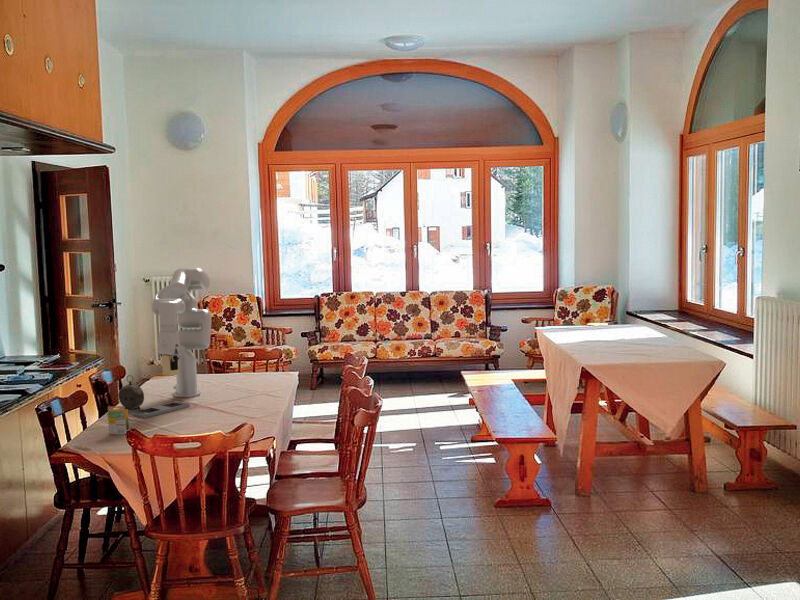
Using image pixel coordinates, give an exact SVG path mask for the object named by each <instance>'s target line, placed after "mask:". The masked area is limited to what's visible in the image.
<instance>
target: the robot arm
mask: <svg viewBox="0 0 800 600" xmlns="http://www.w3.org/2000/svg"><path fill="white" fill-rule="evenodd" d="M210 283H211V280H210V276H209V275H208V273H206V271H205V270H203V269H202V268H199V267H181V268H177V269H175V271H174V273H173V275H172V277H171V280H170V283H169V284H168V285H166V286H165V287H163V288H162V289H160V290H159V291H157V292H156V293H155V295H154V297H153V299H152V303H151V311H152V314H154V315H156V316H158V317H159V321H158V322H159V332H158V337H157V352H158V354H159V355H160V357H161V358H162V355H171V359H172V362H171V370H178V364H179V374H178V375H175V377H176V384H175V385H174V386H172V389H174V390H175V392H173V396H174V397H175V398H192V397H197V396H200V395H201V393H202V391H201V390H198V378H197V377H198V375H197V373H198V372H197V357H196V355H195V353H193V352H192V351H193V350H206V349H208V348H209V347H210V345H211V333H212V314H211V312H210V310H209V309H205V308H202V309H201V308H198V300H197V298H196V297H195V296H194V294H192V293H191V291H192V292H193V291H195V292H196V291H206V290H208V289H209V288H210V285H211V284H210ZM178 327H179V328H180V329H179V330H178ZM174 356H175V357H174Z"/></svg>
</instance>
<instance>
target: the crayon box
mask: <svg viewBox="0 0 800 600" xmlns="http://www.w3.org/2000/svg"><path fill="white" fill-rule="evenodd" d="M107 419H108V434H111V435H125V432H126V431H127V430H128V429H129V430H130V427H129V410H128V409H127V408H125V406H123V405H121V406H117V405H116V406H107Z"/></svg>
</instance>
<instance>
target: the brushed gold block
mask: <svg viewBox="0 0 800 600" xmlns="http://www.w3.org/2000/svg"><path fill="white" fill-rule="evenodd" d="M174 357H175V356H174ZM171 362H172V359H171V355H162V357H161V367H162V369H161V370H162V376H167V377H173V376H176V375H178V374H179V364H178V370H171Z"/></svg>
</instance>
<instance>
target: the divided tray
mask: <svg viewBox="0 0 800 600" xmlns="http://www.w3.org/2000/svg"><path fill="white" fill-rule="evenodd" d="M190 407H191V405H190V403H189V402H185V401H179V400H175V401H171V402H167V403H164V404H163V403H162V404H159V405H154V406H151V407H147V408H142V409H138V410H133V411H132V412H131V416H133V417H137V418H143V419H149V418H152V417H156V416H159V415H163V414H168V413H170V412H171V413H172V412H176V411H178V410H179V411H180V410H183V409H188V408H190Z"/></svg>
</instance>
